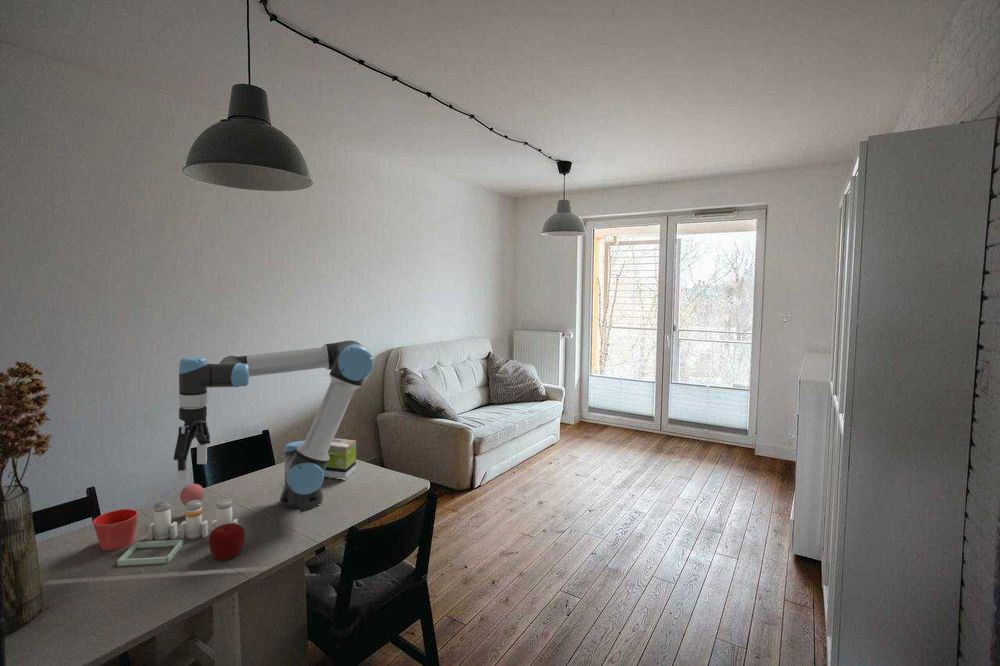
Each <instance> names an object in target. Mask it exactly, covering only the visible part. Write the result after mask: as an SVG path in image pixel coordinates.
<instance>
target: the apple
mask: <svg viewBox="0 0 1000 666" xmlns="http://www.w3.org/2000/svg"><path fill="white" fill-rule="evenodd" d="M245 535H246V532H245V530H244V527H243V526H241V525H240V524H239V523H238V524H235V523H229V524H224V525H221V526H218V527H216V528H215V529H214V530H213V531H212V532H211V534H210V537H209V542H208V546H209V549H210V552H211V554H212V556H213V557H214V558H215V559H216V560H218V561H228V560H232V559H233V558H235V557H237V556H238V555H239V554H240V552H241V551H242V548H243V547H244V544H245V540H246V536H245Z"/></svg>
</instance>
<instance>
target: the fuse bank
mask: <svg viewBox="0 0 1000 666" xmlns="http://www.w3.org/2000/svg"><path fill="white" fill-rule="evenodd" d="M232 523H235V524H238V525H239V518H234V519H233V522H232ZM210 526H211V528H210V529H209V520H205V519H204V521H202V536H201V537H200V538H198V539H193V540H189V539H187V538H186V520H184V521H182V522H181V524H180V525H179V530H178V522H177V521H173V522H171V525H170V532H171V538H170V539H168V540H183V544H188V543H189V544H190V543H191V544H192V543H193V544H194V543H206V542H207V543H209V537H210V534H211V532H212V531H213V530H214V529H215V528H216V527H217V519H214V520H212V522H211V523H210ZM147 528H148V530H147V531H148V537H147V539H146V540H144V542H150V541H155V527H154V522H151V523H150V524H149V525H148V526H147ZM168 540H165V541H168Z"/></svg>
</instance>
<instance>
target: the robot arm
mask: <svg viewBox="0 0 1000 666" xmlns="http://www.w3.org/2000/svg"><path fill="white" fill-rule="evenodd" d="M373 366H374V359H373V356H372V353H371V352H370V350H369V349H368V348H367V347H365V346H364V345H363V344H361V343H359V342H358V341H355V340H343V341H337V342H332V343H325V344H323V346H320V347H311V348H302V349H293V350H285V351H284V350H283V351H277V352H276V351H275V352H268V353H267V352H265V353H260V354H259V353H258V354H248V355H241V356H240V355H239V356H238V355H227V356H225V357H223V358H222V359H221V360H220V361H219V363H208V359H207V357H203V356H188V357H187V356H186V357H183V358H181V359H180V360H179V369H178V393H179V394H178V396H177V398H178V404H179V405H178V406H179V409H178V419H179V420H180V421H183V422H184V424H183V426H179V427H178V435H177V439H176V445H175V449H174V454H173V461H177V481H188V480H189V458H188V456H189V453H190V449H191V445H192V442H193V440H194V439H196V440H197V442H198V443H197V445H196V464H197V465H206V464H207V463H208V462H207V461H208V444H209V445H210V444H211V440H210V439H211V435H210V432H209V428H208V423H207V413H208V412H207V409H208V408H207V406H206V405H207V404H208V388H239V387H247V386H248V385H249V378H250V377H259V376H266V375H276V374H281V373H290V372H298V371H305V370H307V371H308V370H314V369H315V370H316V369H322V368H324V369H325V370H328V371H330V372H329V377H330V380H331V381H330V383H329V385H328V387H327V389H326V392H325V395H324V396H323V399H322V401H321V403H320V406H319V407H318V411H317V412H316V415H315V417H314V420H313V422H312V424H311V427H310V429H309V431H308V432H307V435H306V437H305V439H304V440H296V441H292V442H289V443H287V444H285V445H284V450H283V454H284V486H283V488H282V491H281V493H280V494H281V495H280V498H279V506H281V507H283V508H286V509H290V510H298V509H299V511H300V510H301V511H306V510H305V509H307V510H310V509H309V508H311V509H313V508H312V507H314V506H316V505H318V504H320V503H321V502H322V500H323V501H324V494H323V493H324V492H323V490H322V488H321V487H322V485H323V483H324V479H325V478H324V470H325V468H326V466H327V463H328V461H329V459H330V457H329V455H328V450H329V448H330V445H331V443H332V441H333V439H334V438H335V436H336V434H337V432H338V429H339V427H340V425H341V422H342V420H343V419H344V416H345V413H346V411H347V409H348V407H349V403H350V401H351V399H352V397H353V395H354V392H355V390H356V389H358V388H361V387H362V385H363V383H364V380H365V378H366V377H368V376H369V375H370V373H371V372H372V370H373ZM322 503H323V502H322ZM322 503H321V504H322ZM321 504H320V505H321ZM318 506H319V505H318ZM316 507H317V506H316ZM314 508H315V507H314Z"/></svg>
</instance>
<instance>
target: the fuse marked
mask: <svg viewBox="0 0 1000 666" xmlns="http://www.w3.org/2000/svg"><path fill="white" fill-rule="evenodd" d="M202 501H203V500H202ZM202 501H201V500H193V501H189V502H187V503H186V504H185V506H184V508H185V511H184V512H185V513H184V514H185V521H186V538H187V539H189V540H193V539H198V538H200V537H201V536H202V523H203V503H202Z"/></svg>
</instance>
